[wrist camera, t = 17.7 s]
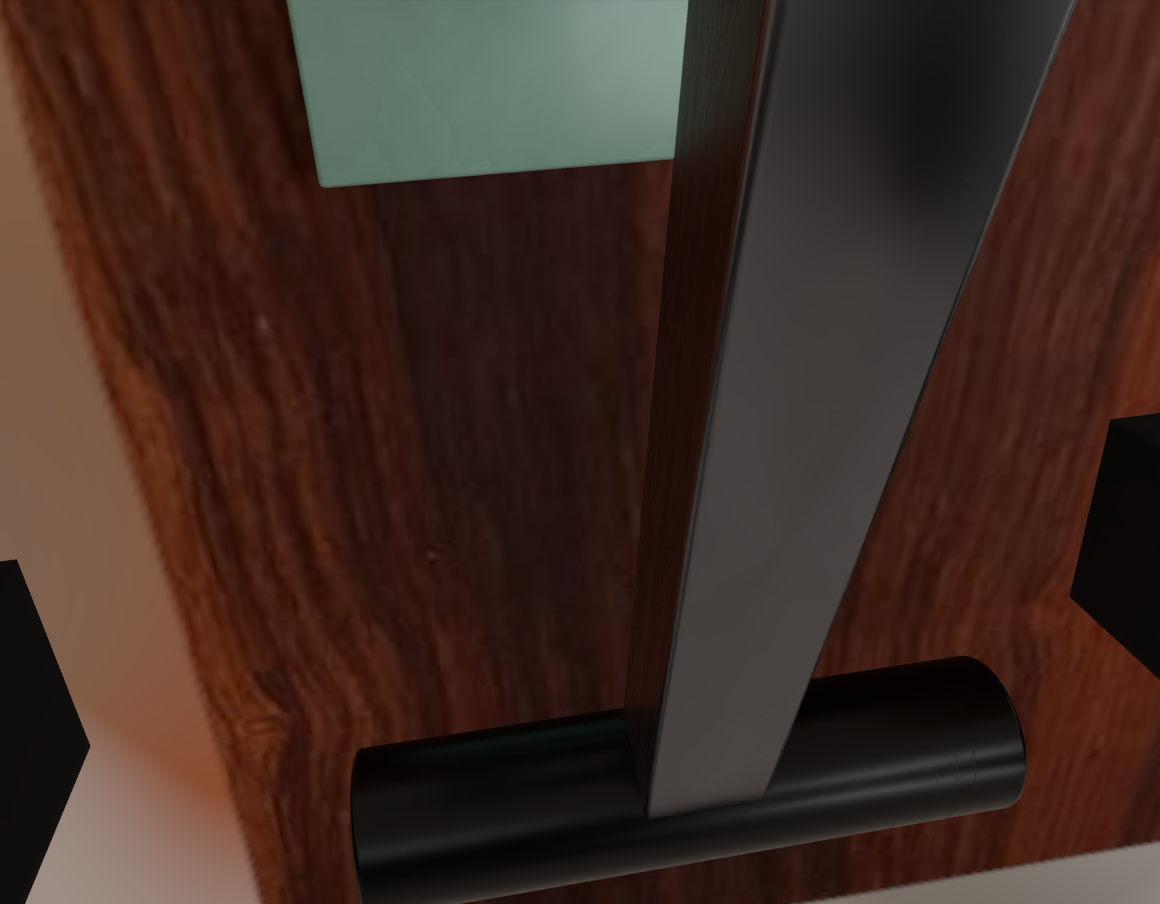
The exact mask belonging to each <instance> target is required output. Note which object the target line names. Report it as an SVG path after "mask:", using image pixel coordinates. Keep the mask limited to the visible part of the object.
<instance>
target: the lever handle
mask: <svg viewBox="0 0 1160 904" xmlns="http://www.w3.org/2000/svg"><path fill="white" fill-rule="evenodd" d="M1077 1H1078V0H688V10H687V21H686V32H685V43H684V54H683V65H682V76H681V87H680V97H679V108H678V119H677V130H676V141H675V152H674V163H673V174H672V185H671V196H670V207H669V217H668V228H667V239H666V250H665V261H664V272H663V283H662V294H661V305H660V316H659V327H658V338H657V348H656V359H655V370H654V381H653V392H652V403H651V414H650V425H649V436H648V447H647V458H646V468H645V479H644V490H643V501H642V512H641V523H640V534H639V545H638V556H637V567H636V578H635V588H634V599H633V610H632V621H631V632H630V643H629V654H628V665H627V676H626V687H625V698H624V708H619V709H613V710H606V711H600V712H593V713H587V714H581V715H574V716H568V717H561V718H555V719H548V720H542V721H535V722H529V723H522V724H516V725H509V726H503V727H496V728H490V729H483V730H477V731H470V732H464V733H457V734H451V735H444V736H438V737H431V738H425V739H418V740H412V741H405V742H399V743H392V744H386V745H379V746H373V747H366V748H361V749H360V750H358V751H357V752H356V754H355V757H354V761H353V765H352V772H351V785H350V819H351V838H352V850H353V860H354V868H355V875H356V881H357V887H358V892H359V896H360V900H361V903H362V904H462V903H467V902H473V901H479V900H484V899H490V898H496V897H502V896H507V895H513V894H519V893H524V892H530V891H536V890H541V889H547V888H553V887H558V886H564V885H570V884H575V883H581V882H587V881H593V880H598V879H604V878H610V877H615V876H621V875H627V874H632V873H638V872H644V871H649V870H655V869H661V868H666V867H672V866H678V865H684V864H689V863H695V862H701V861H706V860H712V859H718V858H723V857H729V856H735V855H740V854H746V853H752V852H758V851H763V850H769V849H775V848H780V847H786V846H792V845H797V844H803V843H809V842H814V841H820V840H826V839H831V838H837V837H843V836H849V835H854V834H860V833H866V832H871V831H877V830H883V829H888V828H894V827H900V826H905V825H911V824H917V823H922V822H928V821H934V820H940V819H945V818H951V817H957V816H962V815H968V814H974V813H979V812H985V811H991V810H996V809H1002V808H1007V807H1009V806H1011V805H1013V804H1014V803H1015V802H1016V801H1017V800H1018V799H1019V798H1020V796H1021V795H1022V792H1023V790H1024V787H1025V783H1026V776H1027V756H1026V748H1025V742H1024V737H1023V733H1022V729H1021V725H1020V722H1019V719H1018V716H1017V713H1016V711H1015V708H1014V706H1013V704H1012V702H1011V699H1010V697H1009V695H1008V694H1007V692H1006V690H1005V688H1004V687H1003V685H1002V684H1001V682H1000V681H999V679H998V678H997V677H996V675H995V674H994V673H993V672H992V671H991V670H990V669H989V668H988V667H987V666H986V665H985V664H984V663H982V662H981V661H979V660H978V659H975V658H972V657H969V656H957V657H951V658H944V659H938V660H931V661H925V662H918V663H912V664H905V665H899V666H892V667H886V668H879V669H873V670H866V671H860V672H853V673H847V674H840V675H834V676H827V677H821V678H814V679H811V678H812V676H813V673H814V671H815V668H816V666H817V663H818V660H819V658H820V655H821V653H822V650H823V648H824V645H825V643H826V640H827V638H828V635H829V632H830V630H831V627H832V625H833V622H834V620H835V617H836V615H837V612H838V610H839V607H840V604H841V602H842V599H843V597H844V594H845V592H846V589H847V587H848V584H849V581H850V579H851V576H852V574H853V571H854V569H855V566H856V564H857V561H858V559H859V556H860V553H861V551H862V548H863V546H864V543H865V541H866V538H867V536H868V533H869V531H870V528H871V525H872V523H873V520H874V518H875V515H876V513H877V510H878V508H879V505H880V503H881V500H882V497H883V495H884V492H885V490H886V487H887V485H888V482H889V480H890V477H891V475H892V472H893V469H894V467H895V464H896V462H897V459H898V457H899V454H900V452H901V449H902V447H903V444H904V441H905V439H906V436H907V434H908V431H909V429H910V426H911V424H912V421H913V419H914V416H915V413H916V411H917V408H918V406H919V403H920V401H921V398H922V396H923V393H924V391H925V388H926V385H927V383H928V380H929V378H930V375H931V373H932V370H933V368H934V365H935V363H936V360H937V357H938V355H939V352H940V350H941V347H942V345H943V342H944V340H945V337H946V335H947V332H948V329H949V327H950V324H951V322H952V319H953V317H954V314H955V312H956V309H957V307H958V304H959V301H960V299H961V296H962V294H963V291H964V289H965V286H966V284H967V281H968V279H969V276H970V273H971V271H972V268H973V266H974V263H975V261H976V258H977V256H978V253H979V251H980V248H981V245H982V243H983V240H984V238H985V235H986V233H987V230H988V228H989V225H990V223H991V220H992V217H993V215H994V212H995V210H996V207H997V205H998V202H999V200H1000V197H1001V195H1002V192H1003V189H1004V187H1005V184H1006V182H1007V179H1008V177H1009V174H1010V172H1011V169H1012V167H1013V164H1014V161H1015V159H1016V156H1017V154H1018V151H1019V149H1020V146H1021V144H1022V141H1023V139H1024V136H1025V133H1026V131H1027V128H1028V126H1029V123H1030V121H1031V118H1032V116H1033V113H1034V111H1035V108H1036V105H1037V103H1038V100H1039V98H1040V95H1041V93H1042V90H1043V88H1044V85H1045V83H1046V80H1047V77H1048V75H1049V72H1050V70H1051V67H1052V65H1053V62H1054V60H1055V57H1056V55H1057V52H1058V49H1059V47H1060V44H1061V42H1062V39H1063V37H1064V34H1065V32H1066V29H1067V27H1068V24H1069V21H1070V19H1071V16H1072V14H1073V11H1074V9H1075V6H1076V4H1077Z"/></svg>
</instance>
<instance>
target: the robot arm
mask: <svg viewBox="0 0 1160 904" xmlns="http://www.w3.org/2000/svg"><path fill="white" fill-rule="evenodd" d="M1069 597H1070V598H1072V599H1073V600H1074V601H1075V602H1076V603H1077V604H1078V605H1079V606H1080V607H1081V608H1082V609H1083V610H1085V611H1086V612H1087V613H1088V614H1089V615H1090V616H1091V617H1092V618H1093V619H1094V620H1095V621H1096V622H1098V623H1099V624H1100V625H1101V626H1102V627H1103V628H1104V629H1105V630H1106V631H1107V632H1108V633H1109V634H1111V635H1112V636H1113V637H1114V638H1115V639H1116V640H1117V641H1118V642H1119V643H1120V644H1121V645H1123V646H1124V647H1125V648H1126V649H1127V650H1128V651H1129V652H1130V653H1131V654H1132V655H1133V656H1134V657H1136V658H1137V659H1138V660H1139V661H1140V662H1141V663H1142V664H1143V665H1144V666H1145V667H1146V668H1147V669H1149V670H1150V671H1151V672H1152V673H1153V674H1154V675H1155V676H1156V677H1157V678H1158V679H1159V680H1160V413H1158V414H1150V415H1142V416H1134V417H1127V418H1119V419H1111V420H1110V424H1109V428H1108V433H1107V437H1106V441H1105V445H1104V450H1103V454H1102V458H1101V463H1100V467H1099V471H1098V476H1097V480H1096V484H1095V489H1094V493H1093V497H1092V502H1091V506H1090V510H1089V514H1088V519H1087V523H1086V527H1085V532H1084V536H1083V540H1082V545H1081V549H1080V553H1079V558H1078V562H1077V566H1076V570H1075V575H1074V579H1073V583H1072V588H1071V592H1070V596H1069ZM89 748H90V744H89V741H88V739H87V736H86V734H85V731H84V729H83V726H82V724H81V721H80V718H79V716H78V713H77V711H76V709H75V706H74V703H73V701H72V698H71V696H70V694H69V691H68V688H67V686H66V683H65V681H64V678H63V676H62V673H61V670H60V668H59V665H58V663H57V661H56V658H55V655H54V653H53V650H52V648H51V645H50V642H49V640H48V637H47V635H46V632H45V630H44V628H43V625H42V622H41V620H40V617H39V615H38V612H37V610H36V607H35V604H34V602H33V599H32V597H31V594H30V592H29V589H28V587H27V584H26V582H25V579H24V577H23V574H22V572H21V569H20V566H19V564H18V561H17V560H8V561H0V904H25V903H26V900H27V898H28V895H29V893H30V891H31V888H32V886H33V883H34V881H35V879H36V876H37V873H38V871H39V869H40V866H41V864H42V862H43V859H44V857H45V854H46V852H47V850H48V847H49V845H50V842H51V840H52V837H53V835H54V833H55V830H56V828H57V825H58V823H59V820H60V818H61V816H62V813H63V811H64V809H65V806H66V804H67V801H68V799H69V796H70V794H71V792H72V789H73V787H74V784H75V782H76V780H77V777H78V775H79V772H80V770H81V768H82V765H83V763H84V760H85V758H86V756H87V753H88V751H89Z"/></svg>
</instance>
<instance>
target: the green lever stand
mask: <svg viewBox="0 0 1160 904" xmlns="http://www.w3.org/2000/svg"><path fill="white" fill-rule="evenodd" d="M286 2H287V7H288V13H289V19H290V24H291V30H292V35H293V41H294V47H295V52H296V58H297V64H298V69H299V75H300V80H301V86H302V92H303V97H304V103H305V108H306V114H307V120H308V125H309V131H310V137H311V142H312V148H313V153H314V159H315V165H316V170H317V176H318V182H319V184H320V185H321V187H324V188H333V187H345V186H357V185H369V184H381V183H393V182H405V181H417V180H429V179H441V178H453V177H465V176H477V175H489V174H501V173H513V172H525V171H537V170H549V169H561V168H573V167H585V166H597V165H609V164H621V163H634V162H646V161H658V160H670V159H674V152H675V141H676V130H677V119H678V108H679V97H680V87H681V76H682V65H683V54H684V43H685V32H686V21H687V10H688V0H286Z"/></svg>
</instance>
